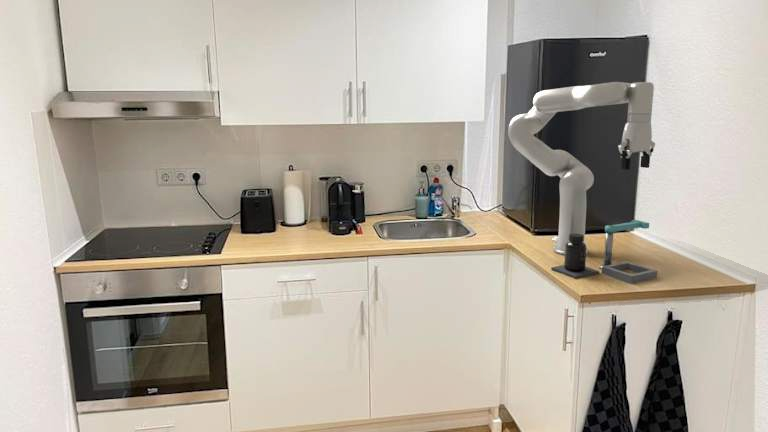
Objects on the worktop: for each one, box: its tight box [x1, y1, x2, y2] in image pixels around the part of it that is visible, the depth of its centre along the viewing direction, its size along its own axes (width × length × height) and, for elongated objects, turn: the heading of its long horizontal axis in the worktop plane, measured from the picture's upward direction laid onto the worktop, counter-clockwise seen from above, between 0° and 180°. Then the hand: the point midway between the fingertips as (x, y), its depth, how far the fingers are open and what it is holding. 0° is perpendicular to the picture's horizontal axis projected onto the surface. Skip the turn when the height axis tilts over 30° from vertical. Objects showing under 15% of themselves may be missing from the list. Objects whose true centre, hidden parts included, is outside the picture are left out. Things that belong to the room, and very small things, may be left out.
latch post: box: [598, 232, 614, 271], centre depth 194 cm, size 5×5×13 cm
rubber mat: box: [550, 264, 600, 279], centre depth 192 cm, size 11×11×1 cm
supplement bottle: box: [563, 234, 587, 272], centre depth 191 cm, size 7×7×12 cm
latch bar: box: [604, 219, 650, 234], centre depth 195 cm, size 17×6×2 cm, turn 116°
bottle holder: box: [601, 260, 658, 285], centre depth 187 cm, size 12×12×2 cm
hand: (635, 168), depth 198 cm, fingers open, 9 cm apart
